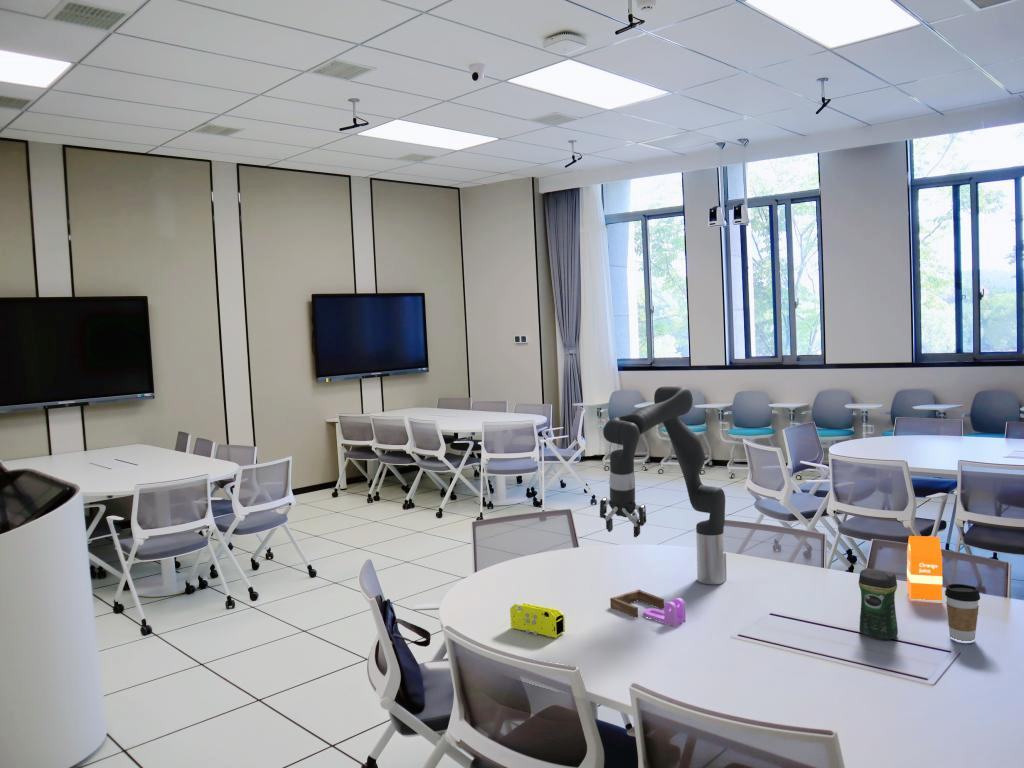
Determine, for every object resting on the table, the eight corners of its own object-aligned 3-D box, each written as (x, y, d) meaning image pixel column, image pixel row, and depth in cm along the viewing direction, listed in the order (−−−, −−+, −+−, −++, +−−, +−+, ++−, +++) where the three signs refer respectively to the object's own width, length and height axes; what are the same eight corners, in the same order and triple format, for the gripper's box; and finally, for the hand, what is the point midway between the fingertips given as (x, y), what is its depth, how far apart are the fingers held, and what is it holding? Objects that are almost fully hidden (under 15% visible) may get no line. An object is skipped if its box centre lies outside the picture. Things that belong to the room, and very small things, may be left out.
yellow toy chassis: (510, 630, 233) (509, 603, 232) (520, 624, 237) (519, 597, 237) (555, 641, 224) (554, 613, 223) (565, 634, 228) (564, 606, 228)
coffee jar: (901, 634, 218) (901, 570, 216) (891, 643, 212) (891, 577, 211) (865, 626, 225) (865, 563, 223) (855, 634, 219) (854, 570, 218)
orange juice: (942, 603, 239) (942, 540, 238) (910, 601, 242) (910, 538, 241) (937, 594, 247) (937, 533, 245) (906, 592, 250) (906, 532, 248)
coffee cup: (967, 648, 207) (968, 594, 206) (938, 637, 215) (938, 585, 213) (986, 641, 211) (987, 588, 210) (956, 631, 218) (956, 579, 217)
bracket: (685, 621, 234) (685, 599, 233) (674, 627, 230) (674, 604, 230) (651, 611, 243) (650, 589, 243) (640, 616, 240) (639, 594, 239)
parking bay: (639, 598, 254) (638, 589, 254) (664, 608, 245) (664, 599, 245) (610, 607, 248) (610, 598, 247) (635, 617, 238) (634, 608, 238)
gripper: (649, 483, 230) (649, 533, 235) (605, 476, 237) (606, 524, 242) (639, 493, 224) (640, 543, 228) (595, 485, 231) (596, 534, 236)
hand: (623, 533), depth 235 cm, fingers open, 8 cm apart
